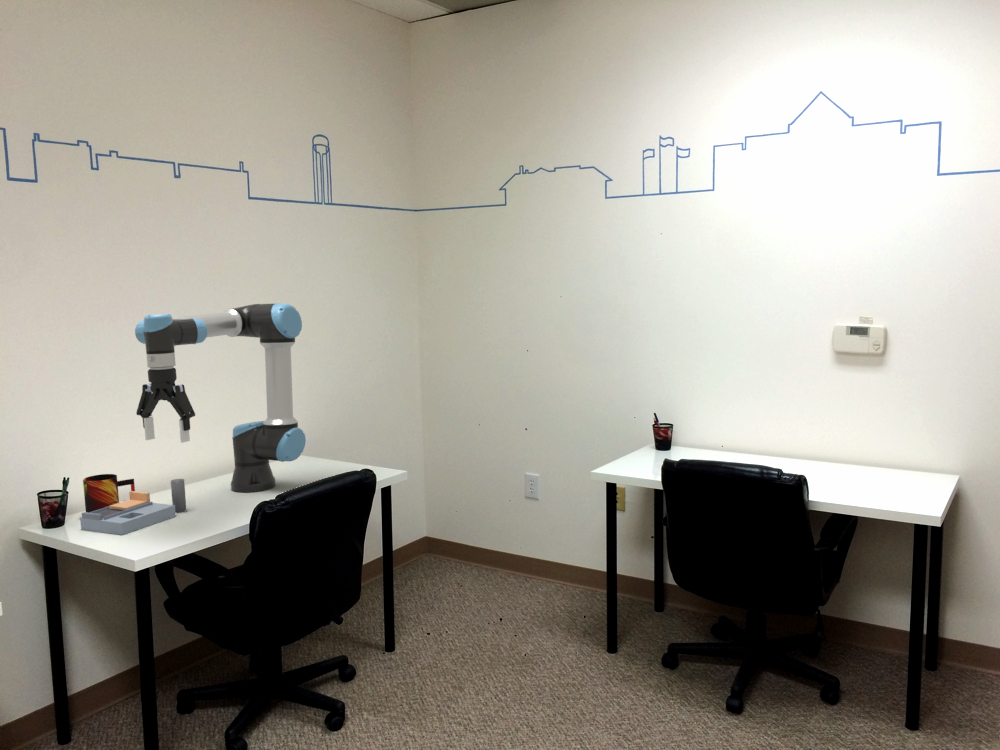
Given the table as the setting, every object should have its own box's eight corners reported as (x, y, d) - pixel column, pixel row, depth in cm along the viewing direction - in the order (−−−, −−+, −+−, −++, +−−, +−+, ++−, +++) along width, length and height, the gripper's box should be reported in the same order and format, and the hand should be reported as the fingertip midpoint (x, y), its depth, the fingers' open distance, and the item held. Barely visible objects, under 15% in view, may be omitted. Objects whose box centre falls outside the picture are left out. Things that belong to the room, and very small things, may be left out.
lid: (133, 500, 253) (132, 491, 253) (150, 502, 250) (149, 492, 250) (109, 508, 245) (108, 498, 245) (126, 510, 242) (125, 500, 242)
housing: (136, 511, 255) (134, 495, 255) (175, 516, 248) (174, 500, 248) (81, 529, 237) (79, 512, 237) (122, 535, 230) (120, 517, 230)
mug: (137, 508, 259) (134, 472, 257) (100, 520, 246) (96, 482, 245) (117, 505, 263) (114, 470, 262) (79, 517, 251) (76, 479, 249)
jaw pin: (179, 508, 257) (177, 478, 256) (189, 509, 255) (186, 479, 254) (170, 512, 253) (167, 481, 252) (179, 513, 252) (177, 482, 251)
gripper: (119, 368, 230) (125, 440, 233) (184, 370, 220) (190, 445, 223) (140, 365, 237) (146, 436, 240) (204, 367, 227) (210, 440, 230)
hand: (167, 440), depth 231 cm, fingers open, 13 cm apart
